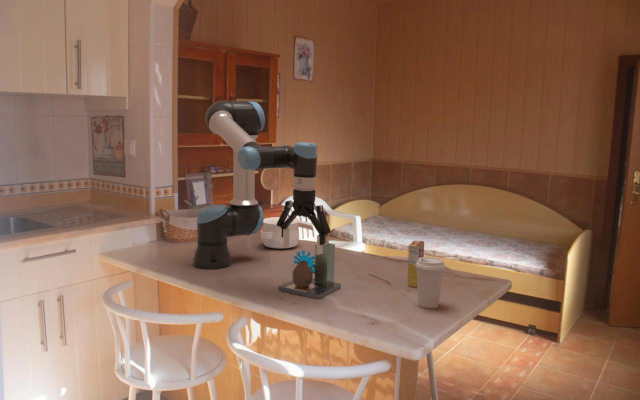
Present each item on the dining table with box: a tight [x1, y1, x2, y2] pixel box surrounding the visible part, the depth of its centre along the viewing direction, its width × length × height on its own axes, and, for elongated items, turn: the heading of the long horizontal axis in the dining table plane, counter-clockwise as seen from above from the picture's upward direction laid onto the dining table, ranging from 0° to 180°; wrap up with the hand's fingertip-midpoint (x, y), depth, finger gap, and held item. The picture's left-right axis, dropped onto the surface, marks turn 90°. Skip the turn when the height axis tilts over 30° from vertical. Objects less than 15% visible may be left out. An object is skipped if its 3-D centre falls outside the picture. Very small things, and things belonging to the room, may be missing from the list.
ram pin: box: [324, 232, 332, 246], centre depth 192 cm, size 4×4×11 cm
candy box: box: [407, 239, 425, 289], centre depth 200 cm, size 9×4×15 cm, turn 158°
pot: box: [260, 216, 301, 250], centre depth 251 cm, size 22×17×12 cm
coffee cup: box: [415, 256, 447, 309], centre depth 178 cm, size 10×10×15 cm
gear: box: [293, 250, 315, 274], centre depth 214 cm, size 11×6×10 cm
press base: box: [278, 242, 342, 300], centre depth 191 cm, size 16×15×16 cm
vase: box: [291, 261, 314, 288], centre depth 188 cm, size 7×7×9 cm
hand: (302, 250), depth 187 cm, fingers open, 13 cm apart
